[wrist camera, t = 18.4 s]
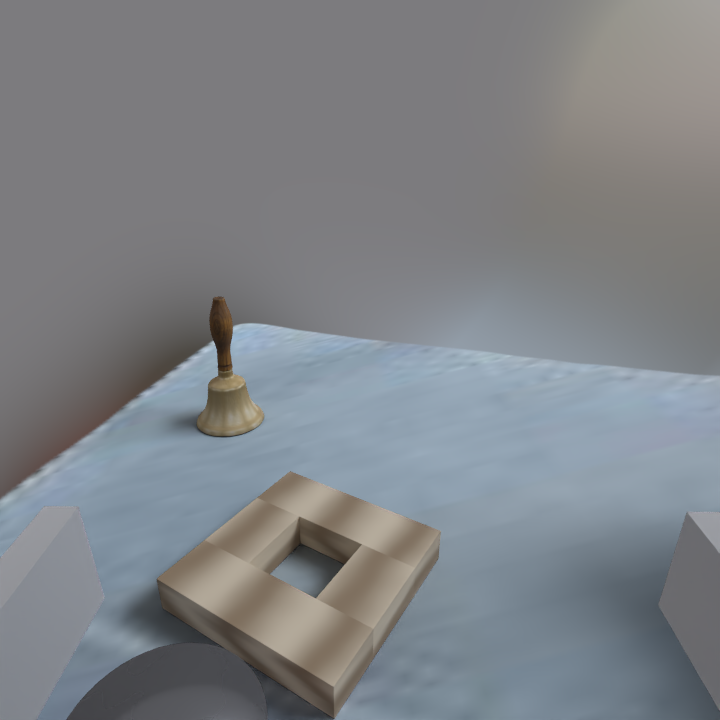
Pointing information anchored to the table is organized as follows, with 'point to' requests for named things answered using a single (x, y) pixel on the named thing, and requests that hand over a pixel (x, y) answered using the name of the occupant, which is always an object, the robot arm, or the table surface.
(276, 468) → the table surface
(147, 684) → the aluminium plug
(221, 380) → the hand bell
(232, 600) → the frame
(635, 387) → the table surface
